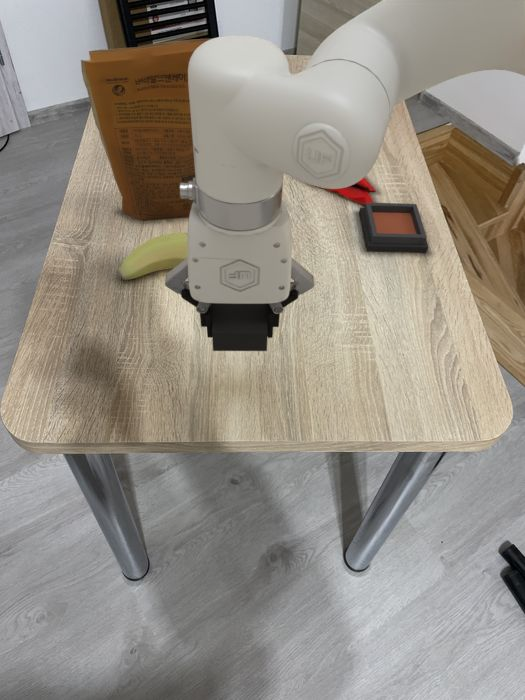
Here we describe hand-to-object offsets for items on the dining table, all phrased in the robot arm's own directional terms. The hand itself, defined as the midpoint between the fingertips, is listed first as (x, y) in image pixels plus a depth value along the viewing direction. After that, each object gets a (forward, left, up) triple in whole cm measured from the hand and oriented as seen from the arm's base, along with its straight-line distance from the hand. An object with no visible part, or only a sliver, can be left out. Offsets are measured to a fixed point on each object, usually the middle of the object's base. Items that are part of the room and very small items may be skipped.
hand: (240, 327), depth 62 cm
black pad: (0, 0, -1) cm, 1 cm away
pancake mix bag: (-1, -37, -12) cm, 39 cm away
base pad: (-35, -21, -12) cm, 42 cm away
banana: (0, -19, -12) cm, 23 cm away
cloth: (-32, -41, -12) cm, 54 cm away
